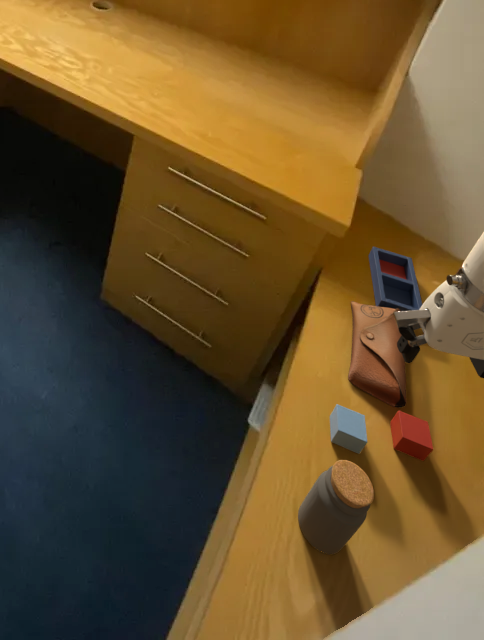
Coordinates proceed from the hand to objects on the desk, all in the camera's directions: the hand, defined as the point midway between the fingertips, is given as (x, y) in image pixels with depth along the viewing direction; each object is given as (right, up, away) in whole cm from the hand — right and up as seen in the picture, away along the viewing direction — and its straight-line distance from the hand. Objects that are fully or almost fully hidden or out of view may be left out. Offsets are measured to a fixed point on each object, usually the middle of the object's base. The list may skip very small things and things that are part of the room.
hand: (439, 360), depth 75 cm
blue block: (-10, -16, +6) cm, 20 cm away
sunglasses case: (+2, -9, +18) cm, 20 cm away
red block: (-1, -16, +5) cm, 17 cm away
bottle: (-20, -22, -3) cm, 30 cm away
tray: (+13, -3, +28) cm, 31 cm away
